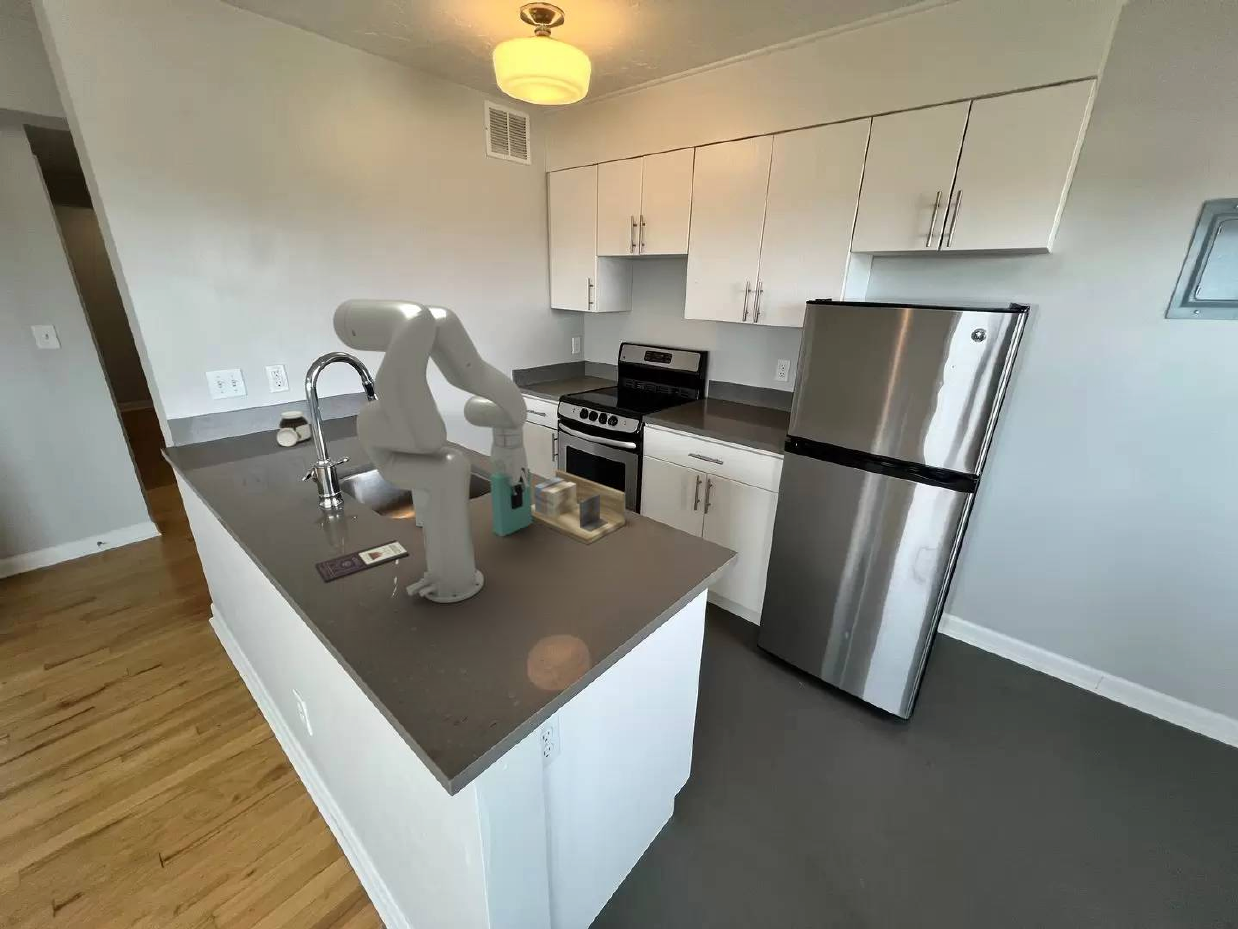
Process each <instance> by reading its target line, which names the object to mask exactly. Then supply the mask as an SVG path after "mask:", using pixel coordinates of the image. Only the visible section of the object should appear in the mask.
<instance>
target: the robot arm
mask: <svg viewBox="0 0 1238 929" xmlns="http://www.w3.org/2000/svg"><path fill="white" fill-rule="evenodd" d="M332 320H333V321H332V325H333V330H334V332H335V335H336V336H337V338H338V339H339V340H340V342H341V343H343V345H345V346H347V347H348V348H350V349H353V350H356V351H363V352H381V353H385V354H384V356H383V359H382V361H381V364H380V366H379V368H378V369H377V372H376V375H375V377H374V383H373V384H374V386H373V387H374V393H375V396H376V398H377V399H374V400H371V401H367V402H366V403H365V404H364V405H363V406H362V407H361V408H360V410H359V411H358V414H357V418H356V434H357V437H358V440H359V442H360V444H361V446H362V447H363V448H362V449H363V450H364V451H365V453H366V454H367V456H368V457H369V459H370V461H371V462H372V464H373V467H374V468H375V469H376V471H377V472H378V474H379V475H380V477H381V478H382V479H383V481H384V482H385V483H386V484H387V485H389V486H390V487H392V488H395V489H399V490H403V491H411V492H412V491H419V492H423V493H427V494H428V495H429V499H428V501H427V503H426V504H425V506H424V507H423V509H422V513H421V522H422V526H421V527H422V534H423V543H424V551H425V558H426V564H427V570H426V571H425V572H423V574H422V575H423V577H422V578H420V580H419V581H418V582H415V583H413V584H410V585H409V586H406V592H407V594H408V596H413V595H415V594H418V593H419V595H420V597H425V598H426V599H428V600H429V601H433V602H436V603H444V604H445V603H456V602H457V603H458V602H459V601H460V602H461V601H464V600H466V599H469V598H471V597H473V596H474V595H475V594H477V593H478V592H479V591H481V589H482V588H483V586H484V583H485V581H484V580H485V578H484V574H483V573H482V572H481V571H480V570H478V569H477V568H476V564H475V563H476V562H475V552H474V543H473V532H472V523H471V522H472V521H471V519H472V518H471V511H470V510H471V509H470V508H471V507H470V488H471V486H470V484H471V477H472V463H471V461H470V458H469V457H468V456H467V455H466V453H465V452H463V451H461V450H459V449H457V448H455V447H450V446H445V444H446V442H447V436H448V435H447V434H448V432H447V428H446V425H445V422H444V419H443V416H442V414H441V411H440V409H439V407H438V405H437V403H436V400H435V397H434V396H433V394H432V391H431V388H430V385H429V384H428V380H427V368H428V364H429V359H430V358H431V360H432V361H433V363H434V364H435V365H436V367H437V369H438V370H439V371H440V373H441V374H442V376H443V377H444V379H445V380H446V382H447V383H448V384H450V385H451V386H453V387H454V388H457V389H459V390H461V391H463V392H466V393H469V394H471V395H473V396H471V397H470V398H468V399H467V400H466V402H465V404H464V407H463V415H464V418H465V420H466V421H467V422H468V423H469V425H473V426H474V427H479V428H480V427H481V428H491V430H492V442H491V447H490V474H491V475H494V474H499V475H502V476H504V477H506V484H507V485H510V486H511V487H512V493H513V495H511V502H512V509H517V508H519V507H522V506H523V500H522V493H523V492H524V490H525V489H527V488H529V487H531V485H530V486H529V483H528V481H527V480H528V469H529V468H528V459H527V453H526V448H525V444H524V442H525V441H524V426H525V424H526V422H527V419H528V407H527V403H526V400H525V398H524V397H523V394H522V392H521V390H520V388H519V387H518V385H517V384H516V382H514V380H512V378H510V377H509V376H508V375H506V374H505V373H503V372H502V371H500V370H499V369H498V368H497V367H495V366H493V365H492V364H490V363H489V362H487V361H486V360H484V359H483V358H482V357H481V354H480V352H479V351H478V349H477V347H476V346H475V344H474V342H473V340H472V339H471V337H470V335H469V334H468V332H467V330H466V328H465V327H464V324H463V323H462V321H461V320H460V318H459V317H458V315H457V314H456V313H455V312H454V311H453V310H451V309H449V308H448V307H445V306H441V305H429V304H428V305H427V304H422V303H419V302H415V301H411V300H403V299H370V298H369V299H367V298H358V299H357V298H352V299H347V300H345V301H344V302H342V303H340V305H339V306H338V307H337V308H336V309H335V311H334V314H333V318H332ZM491 475H490V476H491ZM517 485H518V486H519V487H518V488H517V489H516V486H517Z"/></svg>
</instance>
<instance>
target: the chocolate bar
mask: <svg viewBox="0 0 1238 929" xmlns="http://www.w3.org/2000/svg"><path fill="white" fill-rule="evenodd" d="M409 556H410V553H409V552H408V551H407V550H406V549H405V548H404V547H403V546H402V545H401V544H400V543H399V542H398V541H397V540H396V539H395V540H394V539H393V540H391V541H388V542H385V543H384V542H383V543H381V544H377V545H374V546H372V547H368V548H364V549H361V550H358V551H355V552H354V551H353V552H352V553H348V554H344V555H342V556H338V557H335V558H332V559H328V560H326V561H322V562H319V563H315V564H314V566H315V568H316V569H317V571H318V572H319V575H320V576H321V578H322V579H323V581H324V583H325V584H328V583H331V582H333V581H336V580H340V579H343V578H346V577H349V576H352V575H355V574H359V573H362V572H365V571H367V570H370V569H372V568H373V569H374V568H376V567H379V566H381V565H385V564H388V563H392V562H395V561H397V560H401V559H403V558H406V557H409Z"/></svg>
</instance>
